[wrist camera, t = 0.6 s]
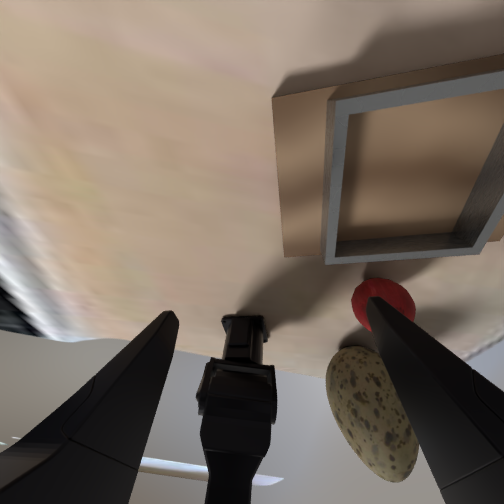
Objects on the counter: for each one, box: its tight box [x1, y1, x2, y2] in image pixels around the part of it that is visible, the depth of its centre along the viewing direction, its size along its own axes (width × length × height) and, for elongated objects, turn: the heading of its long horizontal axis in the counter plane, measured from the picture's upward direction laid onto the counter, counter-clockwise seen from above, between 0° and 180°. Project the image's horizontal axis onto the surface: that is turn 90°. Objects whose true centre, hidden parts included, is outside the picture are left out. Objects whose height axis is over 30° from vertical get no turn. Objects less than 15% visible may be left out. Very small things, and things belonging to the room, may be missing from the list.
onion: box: [351, 278, 416, 332], centre depth 23 cm, size 6×6×8 cm
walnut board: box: [272, 54, 504, 257], centre depth 18 cm, size 14×20×2 cm
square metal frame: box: [320, 68, 504, 265], centre depth 16 cm, size 13×13×2 cm
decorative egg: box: [326, 346, 419, 482], centre depth 29 cm, size 11×11×15 cm
